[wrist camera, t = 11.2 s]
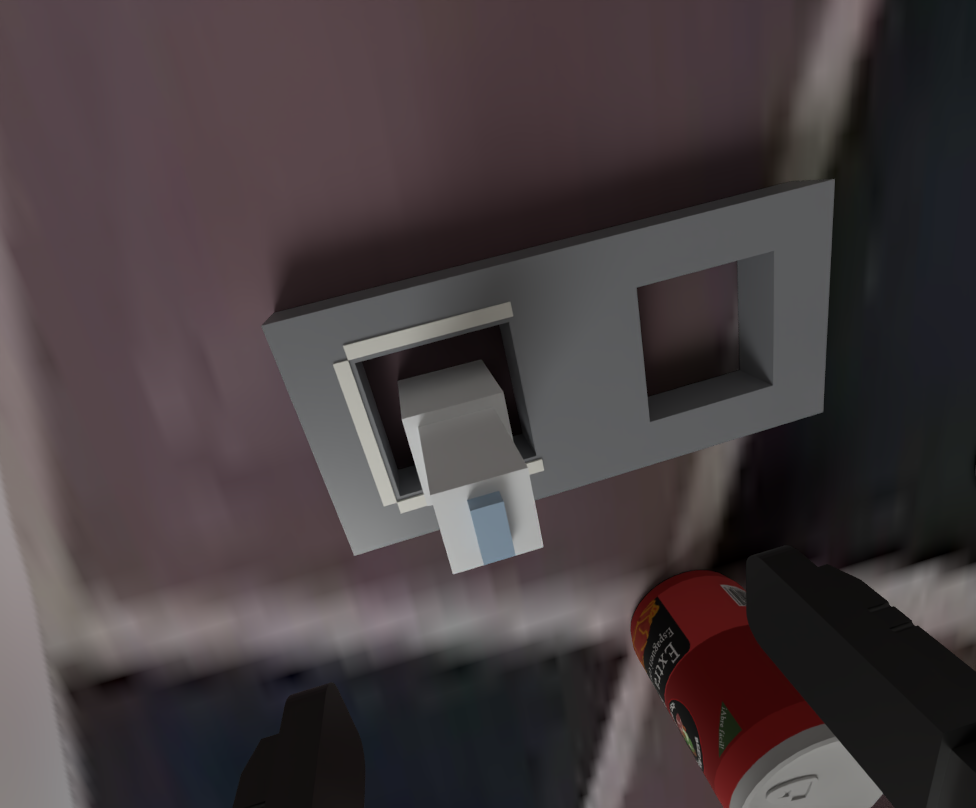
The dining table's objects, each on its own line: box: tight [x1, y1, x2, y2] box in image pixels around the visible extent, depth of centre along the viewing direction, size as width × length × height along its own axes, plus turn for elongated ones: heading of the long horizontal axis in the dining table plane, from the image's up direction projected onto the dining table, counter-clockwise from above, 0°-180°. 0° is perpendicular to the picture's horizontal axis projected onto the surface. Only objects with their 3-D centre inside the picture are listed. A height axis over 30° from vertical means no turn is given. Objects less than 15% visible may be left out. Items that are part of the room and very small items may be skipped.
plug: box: [398, 359, 543, 574], centre depth 20 cm, size 4×4×10 cm
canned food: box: [631, 570, 883, 808], centre depth 28 cm, size 8×8×11 cm
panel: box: [262, 179, 835, 556], centre depth 24 cm, size 24×11×3 cm, turn 102°
